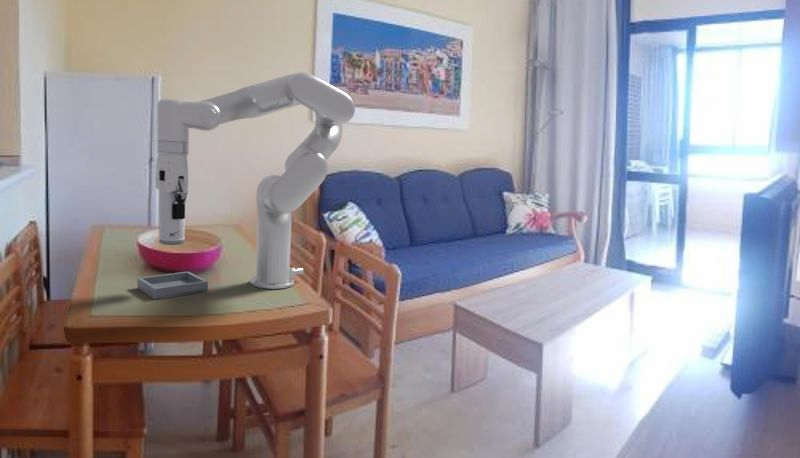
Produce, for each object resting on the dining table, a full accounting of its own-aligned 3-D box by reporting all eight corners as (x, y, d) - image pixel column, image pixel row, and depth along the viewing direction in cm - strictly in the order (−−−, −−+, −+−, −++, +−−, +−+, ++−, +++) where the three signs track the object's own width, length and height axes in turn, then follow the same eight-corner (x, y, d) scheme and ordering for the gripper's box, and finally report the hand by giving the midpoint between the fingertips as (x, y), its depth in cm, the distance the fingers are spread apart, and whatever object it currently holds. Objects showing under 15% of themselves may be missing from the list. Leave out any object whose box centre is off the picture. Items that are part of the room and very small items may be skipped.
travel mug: (177, 246, 146) (177, 169, 142) (154, 243, 147) (153, 167, 143) (190, 242, 152) (191, 168, 148) (168, 239, 153) (168, 165, 149)
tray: (188, 280, 161) (188, 271, 160) (207, 291, 152) (207, 281, 152) (137, 288, 151) (137, 277, 150) (155, 299, 143) (155, 289, 142)
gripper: (145, 145, 148) (145, 212, 152) (172, 150, 137) (172, 223, 140) (173, 146, 154) (172, 211, 157) (202, 151, 142) (201, 221, 145)
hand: (172, 216), depth 148 cm, fingers closed on travel mug, 6 cm apart
